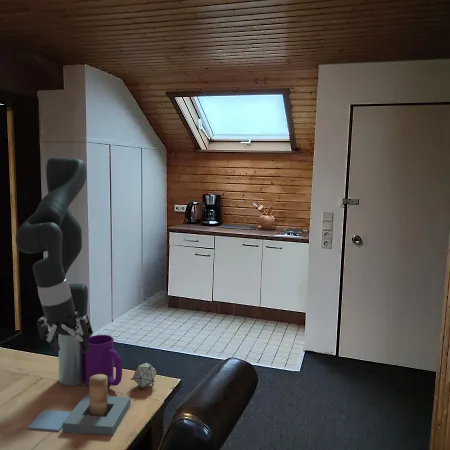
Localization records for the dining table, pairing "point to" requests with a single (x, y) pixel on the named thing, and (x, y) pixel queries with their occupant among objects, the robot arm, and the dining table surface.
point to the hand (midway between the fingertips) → (71, 351)
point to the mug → (102, 359)
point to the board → (97, 417)
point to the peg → (98, 395)
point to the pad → (49, 420)
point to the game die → (144, 375)
